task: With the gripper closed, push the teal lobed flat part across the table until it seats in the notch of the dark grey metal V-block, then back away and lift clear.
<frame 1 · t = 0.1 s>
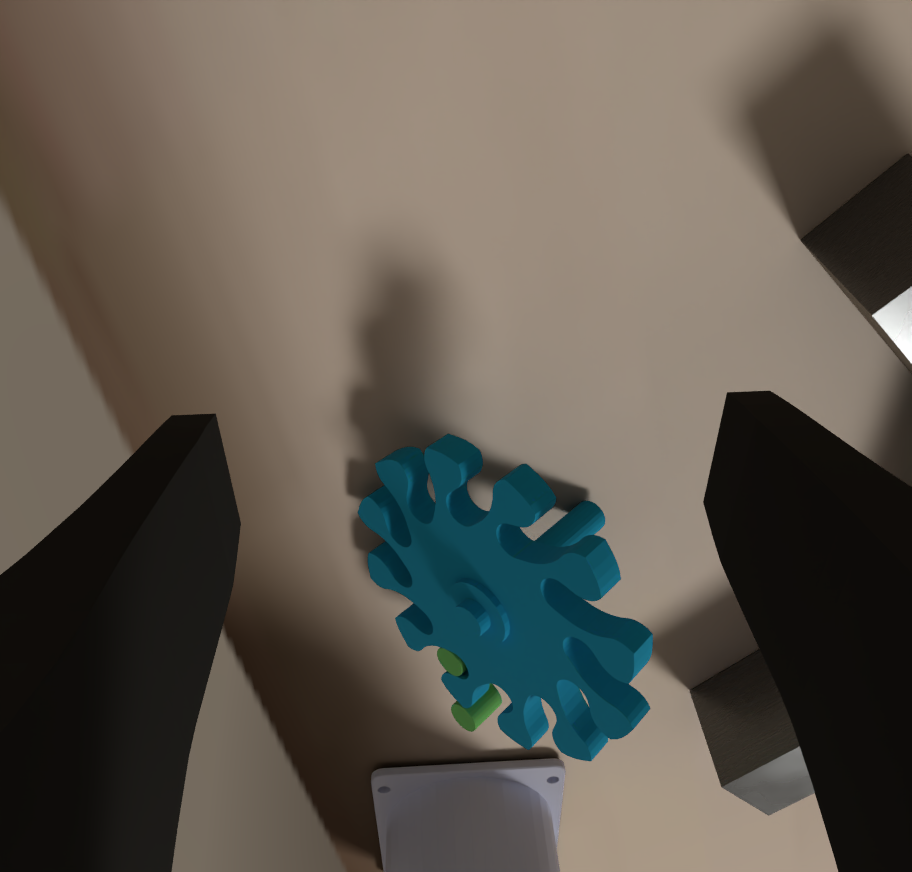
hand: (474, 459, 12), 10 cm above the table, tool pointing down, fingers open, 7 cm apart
v block: (865, 506, 27), on the table
teal lobed flat part: (479, 518, 27), on the table
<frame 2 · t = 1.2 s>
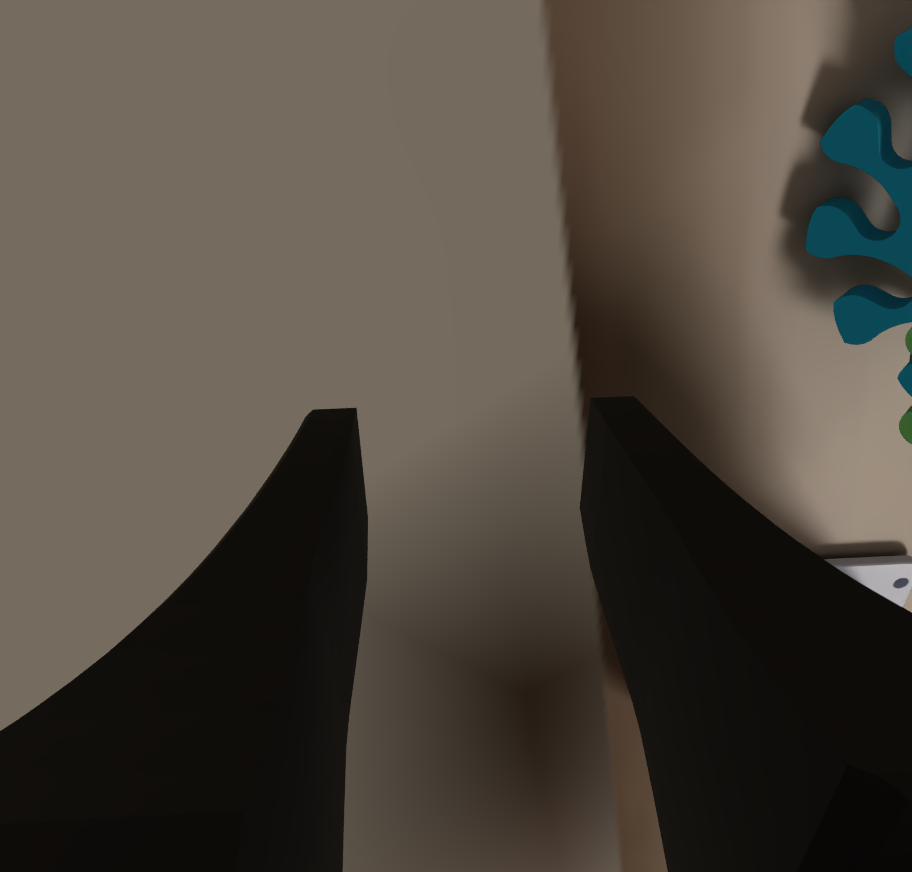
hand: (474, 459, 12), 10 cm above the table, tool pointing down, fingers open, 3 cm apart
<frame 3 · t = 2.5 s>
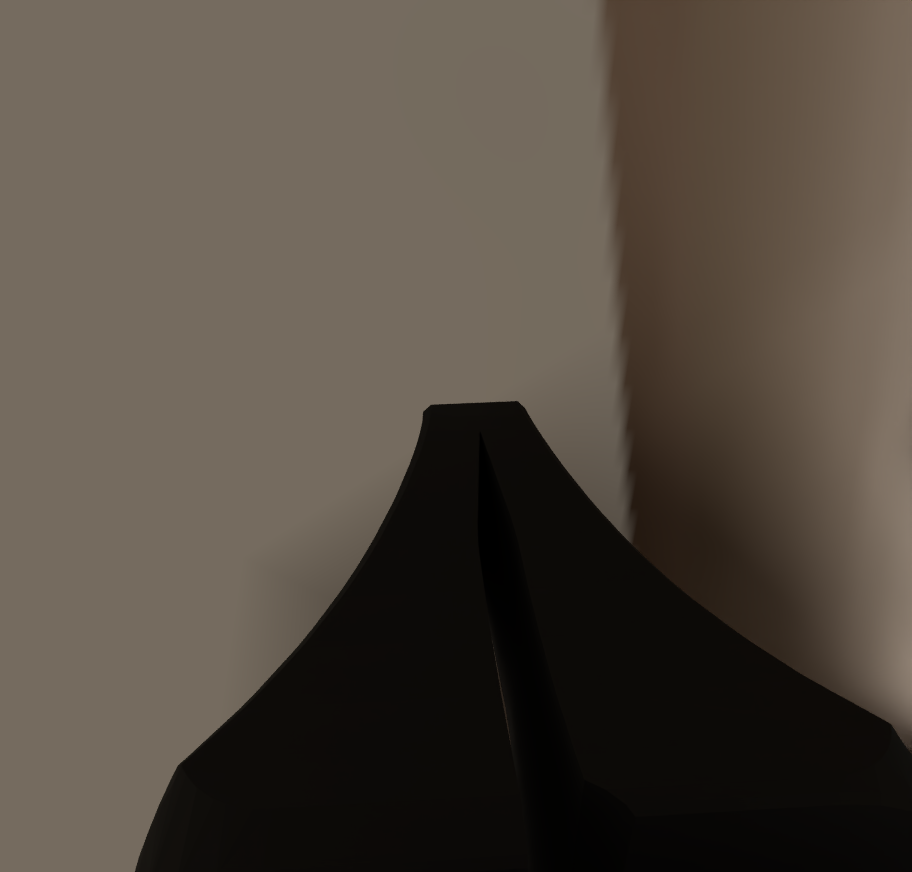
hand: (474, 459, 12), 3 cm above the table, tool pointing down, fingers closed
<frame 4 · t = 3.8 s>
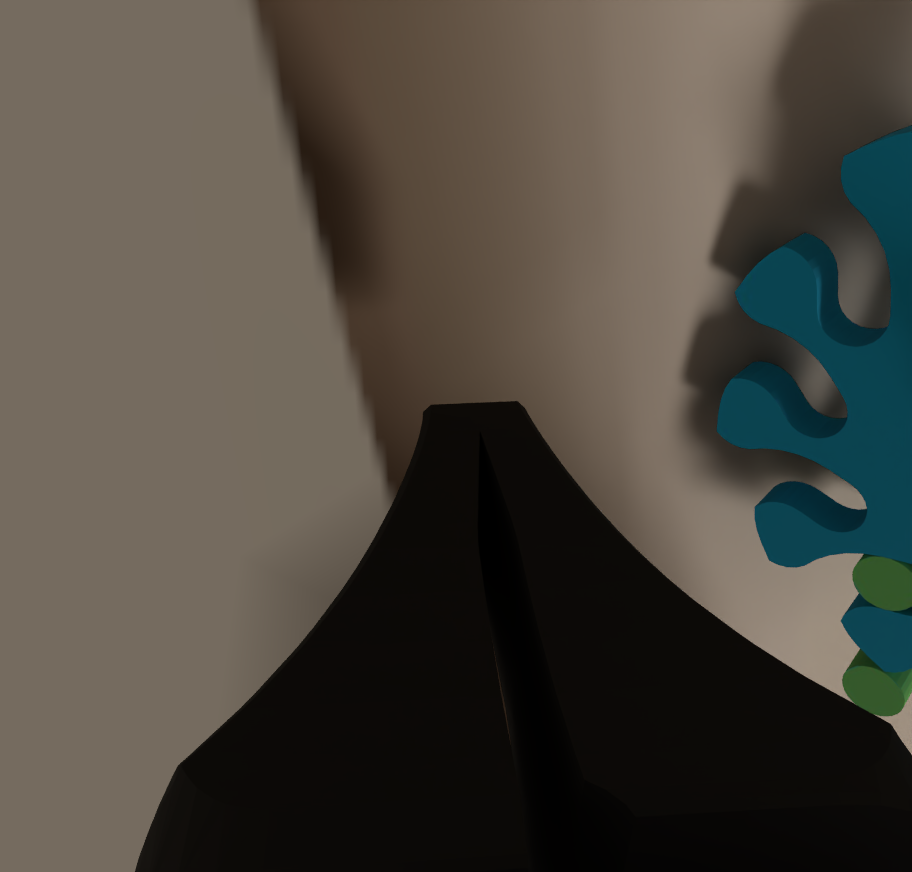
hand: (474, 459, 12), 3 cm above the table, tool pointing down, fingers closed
teal lobed flat part: (910, 334, 15), on the table
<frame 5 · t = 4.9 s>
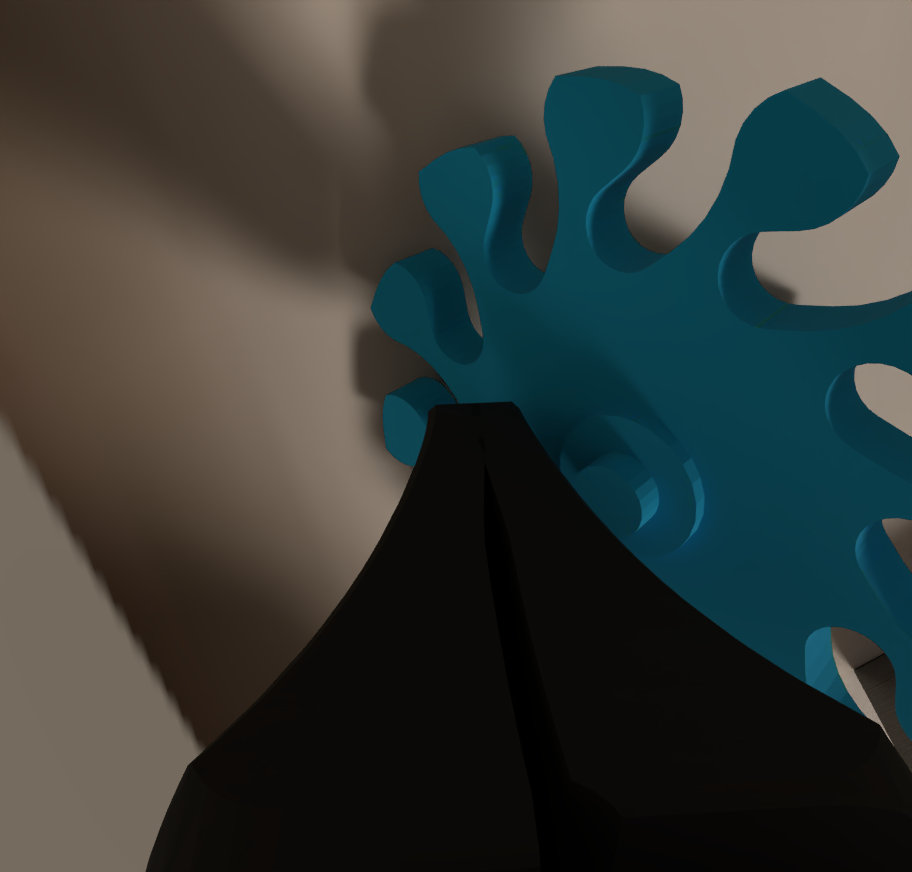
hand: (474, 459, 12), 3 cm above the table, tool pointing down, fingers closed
teal lobed flat part: (588, 348, 15), on the table, touching gripper
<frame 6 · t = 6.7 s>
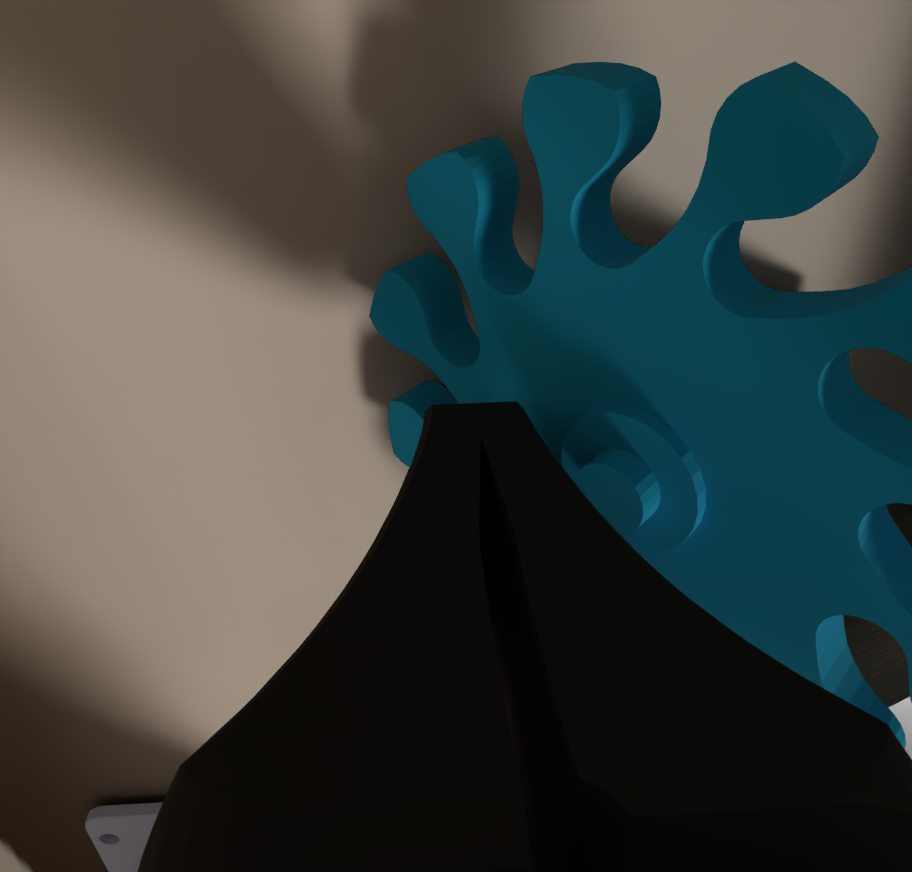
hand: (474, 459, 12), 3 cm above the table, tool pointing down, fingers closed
v block: (862, 340, 14), on the table
teal lobed flat part: (592, 344, 15), on the table, touching gripper
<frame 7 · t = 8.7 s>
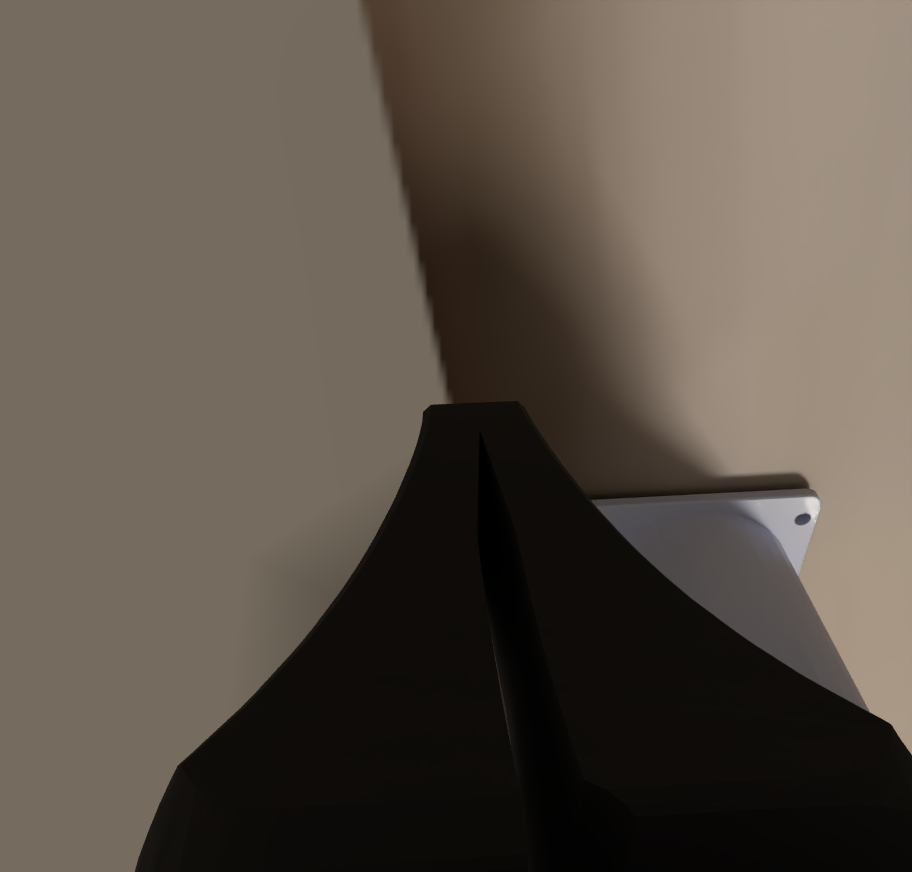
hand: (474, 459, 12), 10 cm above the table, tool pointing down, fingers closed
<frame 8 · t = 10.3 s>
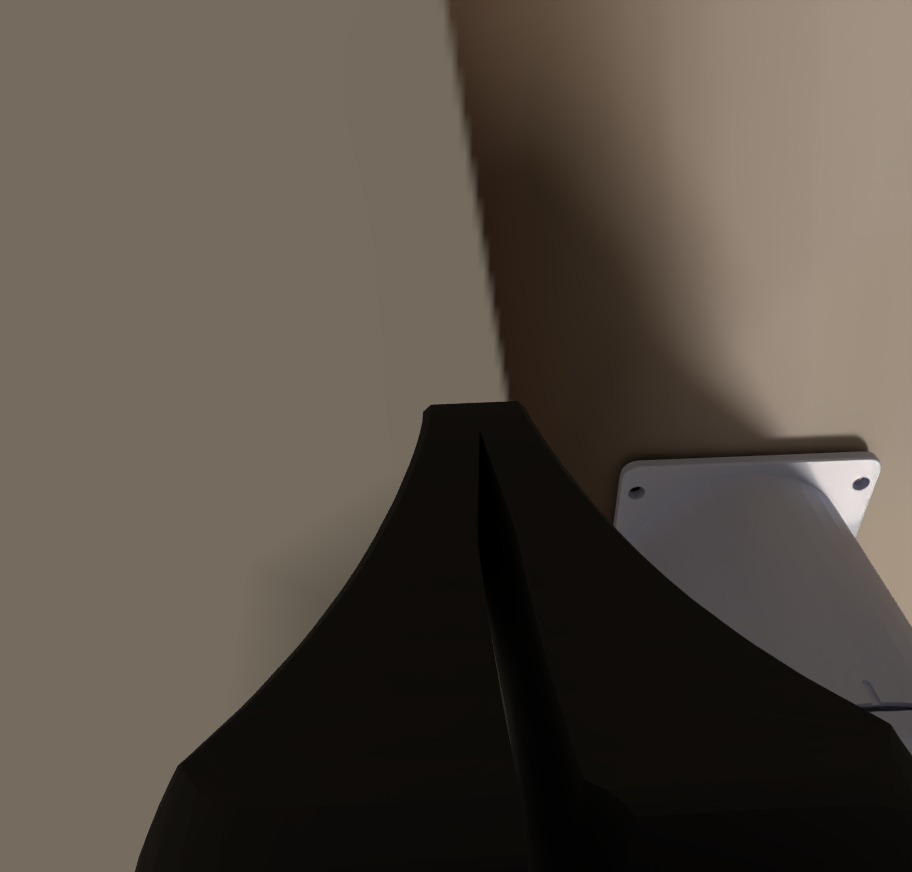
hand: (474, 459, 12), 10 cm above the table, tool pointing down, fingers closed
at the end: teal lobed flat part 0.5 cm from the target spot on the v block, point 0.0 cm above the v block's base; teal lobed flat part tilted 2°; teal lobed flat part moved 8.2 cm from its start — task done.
